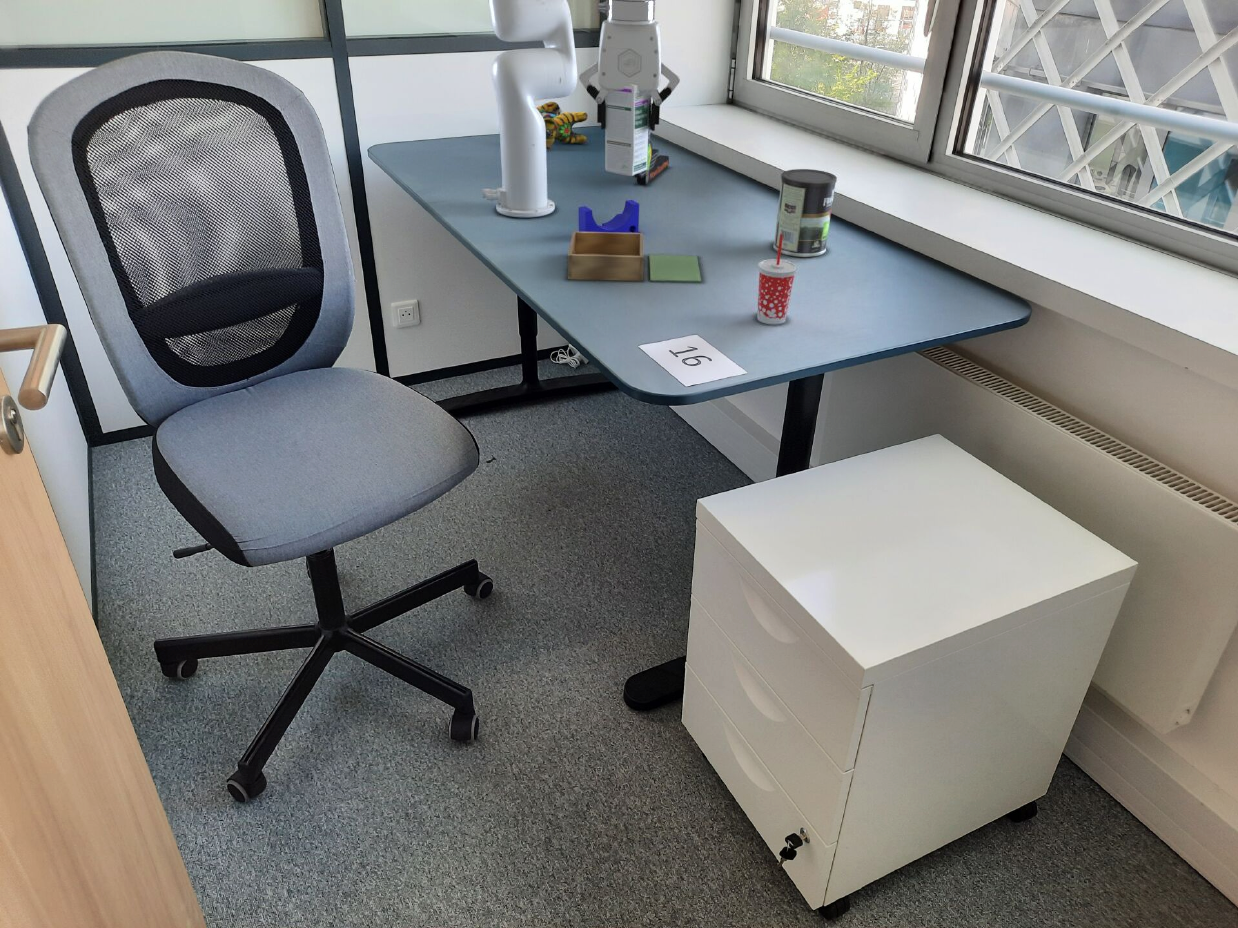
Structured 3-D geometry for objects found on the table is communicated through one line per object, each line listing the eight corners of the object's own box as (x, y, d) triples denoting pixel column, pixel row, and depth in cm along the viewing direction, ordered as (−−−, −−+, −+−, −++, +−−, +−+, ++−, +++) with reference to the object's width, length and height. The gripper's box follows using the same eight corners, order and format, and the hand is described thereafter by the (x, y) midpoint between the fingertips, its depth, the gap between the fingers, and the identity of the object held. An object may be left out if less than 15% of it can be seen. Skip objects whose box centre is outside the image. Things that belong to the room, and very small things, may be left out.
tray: (568, 279, 156) (568, 255, 154) (572, 254, 167) (572, 231, 165) (642, 281, 156) (643, 257, 154) (642, 255, 167) (642, 233, 165)
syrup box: (632, 177, 149) (635, 85, 141) (603, 171, 152) (605, 81, 144) (649, 170, 153) (653, 80, 145) (621, 164, 156) (623, 76, 148)
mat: (650, 281, 156) (650, 279, 156) (649, 256, 167) (649, 254, 167) (700, 282, 156) (701, 280, 156) (696, 257, 167) (696, 255, 167)
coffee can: (829, 244, 175) (840, 172, 167) (821, 260, 167) (832, 185, 159) (778, 237, 178) (787, 166, 170) (767, 253, 170) (776, 179, 162)
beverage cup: (776, 329, 139) (787, 243, 132) (744, 319, 143) (753, 234, 135) (797, 318, 143) (809, 234, 136) (765, 308, 147) (775, 225, 139)
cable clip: (627, 227, 182) (628, 198, 178) (638, 233, 178) (639, 203, 175) (575, 234, 177) (575, 205, 174) (585, 241, 174) (585, 211, 170)
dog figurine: (553, 148, 254) (504, 152, 243) (550, 102, 250) (499, 104, 239) (599, 146, 240) (549, 150, 229) (596, 97, 236) (545, 99, 225)
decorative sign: (635, 194, 202) (637, 149, 196) (626, 193, 202) (628, 148, 197) (668, 166, 223) (670, 125, 218) (660, 165, 224) (662, 124, 219)
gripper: (574, 13, 136) (575, 132, 145) (687, 16, 136) (680, 135, 145) (577, 8, 142) (578, 122, 152) (685, 11, 142) (678, 125, 152)
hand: (628, 127), depth 148 cm, fingers closed on syrup box, 7 cm apart
